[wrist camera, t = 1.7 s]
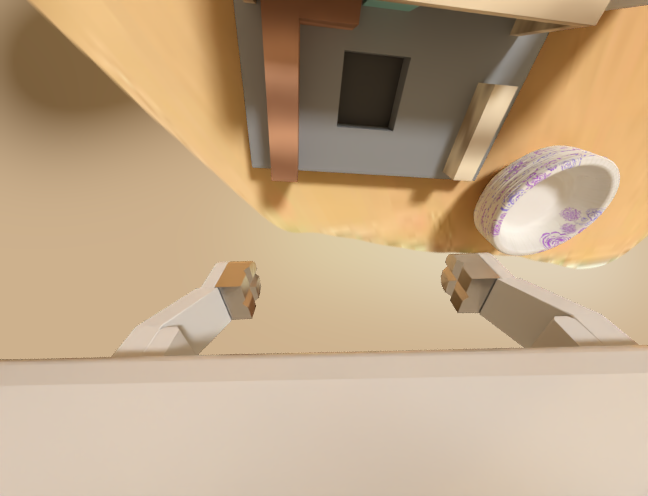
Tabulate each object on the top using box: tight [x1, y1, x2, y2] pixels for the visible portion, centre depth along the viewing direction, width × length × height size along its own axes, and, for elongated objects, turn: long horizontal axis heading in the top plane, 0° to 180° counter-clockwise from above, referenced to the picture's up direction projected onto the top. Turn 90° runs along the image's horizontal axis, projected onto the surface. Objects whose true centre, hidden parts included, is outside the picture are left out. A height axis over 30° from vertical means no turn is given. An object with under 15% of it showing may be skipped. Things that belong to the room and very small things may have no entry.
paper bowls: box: [474, 146, 620, 256], centre depth 34 cm, size 15×15×8 cm
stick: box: [443, 83, 518, 181], centre depth 28 cm, size 10×2×3 cm, turn 176°
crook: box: [260, 0, 362, 182], centre depth 24 cm, size 16×8×4 cm, turn 175°
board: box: [233, 0, 549, 181], centre depth 24 cm, size 26×31×2 cm
